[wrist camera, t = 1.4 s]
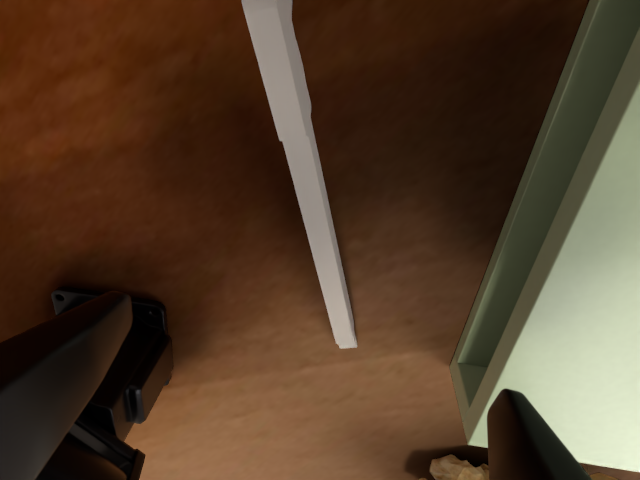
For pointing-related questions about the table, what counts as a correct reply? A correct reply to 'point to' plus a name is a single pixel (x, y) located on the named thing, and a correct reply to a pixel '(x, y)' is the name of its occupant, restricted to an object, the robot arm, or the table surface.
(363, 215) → the table surface
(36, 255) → the table surface
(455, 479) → the mineral formation
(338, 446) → the table surface
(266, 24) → the caliper
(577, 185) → the desk shelf
